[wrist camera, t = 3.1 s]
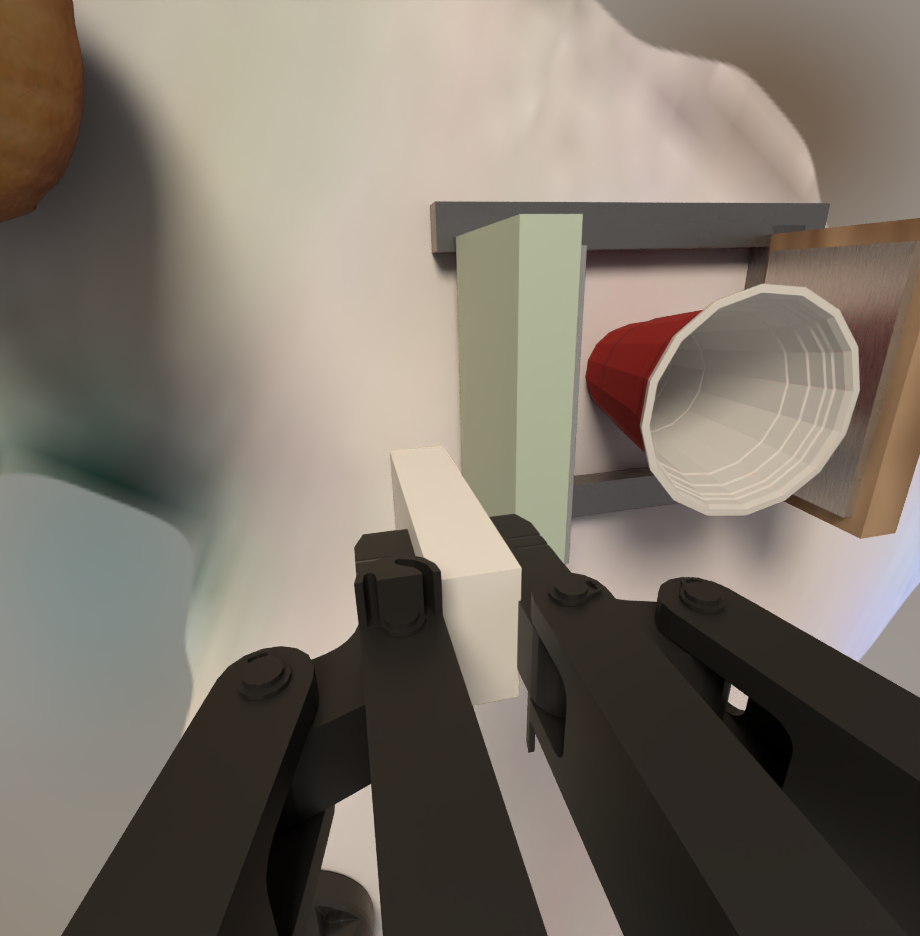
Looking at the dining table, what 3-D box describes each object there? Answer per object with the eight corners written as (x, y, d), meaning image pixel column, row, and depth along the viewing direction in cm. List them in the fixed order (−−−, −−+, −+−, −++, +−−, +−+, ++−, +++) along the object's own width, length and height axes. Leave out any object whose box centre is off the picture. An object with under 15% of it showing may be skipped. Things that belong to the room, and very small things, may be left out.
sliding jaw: (462, 510, 33) (514, 599, 23) (456, 236, 27) (519, 213, 18) (507, 504, 33) (574, 589, 24) (509, 236, 28) (598, 213, 18)
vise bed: (442, 523, 35) (491, 629, 24) (430, 205, 28) (489, 159, 17) (755, 483, 40) (907, 555, 29) (809, 206, 33) (1032, 172, 22)
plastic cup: (577, 260, 31) (712, 248, 20) (717, 307, 34) (901, 320, 23) (524, 430, 34) (617, 502, 23) (658, 459, 37) (796, 534, 26)
